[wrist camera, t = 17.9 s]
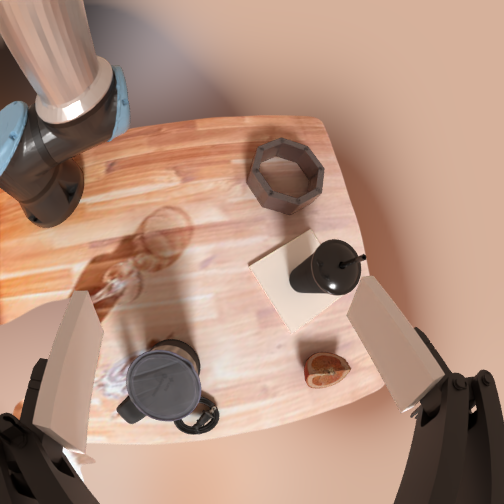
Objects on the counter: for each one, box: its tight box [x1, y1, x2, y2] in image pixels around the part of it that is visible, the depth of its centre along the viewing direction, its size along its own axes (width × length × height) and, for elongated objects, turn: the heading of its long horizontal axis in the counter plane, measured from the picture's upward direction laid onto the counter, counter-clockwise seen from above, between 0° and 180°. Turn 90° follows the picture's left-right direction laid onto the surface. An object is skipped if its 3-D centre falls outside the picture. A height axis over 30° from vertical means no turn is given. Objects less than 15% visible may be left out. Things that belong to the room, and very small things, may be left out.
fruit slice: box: [304, 352, 351, 388], centre depth 43 cm, size 8×7×5 cm
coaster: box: [249, 229, 343, 334], centre depth 48 cm, size 14×14×1 cm
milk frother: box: [117, 339, 219, 434], centre depth 34 cm, size 14×16×15 cm
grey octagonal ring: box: [247, 138, 324, 215], centre depth 50 cm, size 13×13×5 cm
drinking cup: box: [289, 239, 366, 296], centre depth 38 cm, size 8×8×20 cm
